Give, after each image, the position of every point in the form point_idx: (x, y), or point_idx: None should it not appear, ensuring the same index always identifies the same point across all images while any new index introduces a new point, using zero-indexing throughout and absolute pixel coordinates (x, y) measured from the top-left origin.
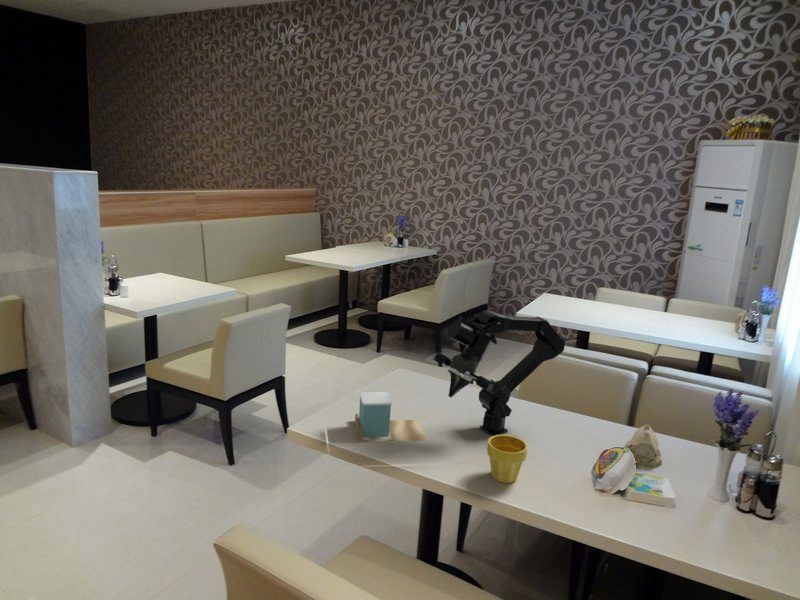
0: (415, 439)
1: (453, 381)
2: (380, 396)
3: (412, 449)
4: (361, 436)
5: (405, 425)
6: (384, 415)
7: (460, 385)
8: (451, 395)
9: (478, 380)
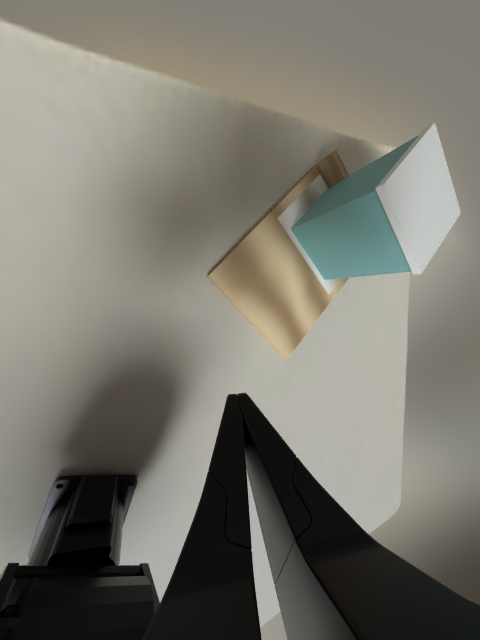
0: (235, 257)
1: (302, 512)
2: (422, 222)
3: (214, 209)
4: (329, 155)
5: (291, 310)
6: (349, 194)
7: (196, 536)
8: (229, 403)
9: None
